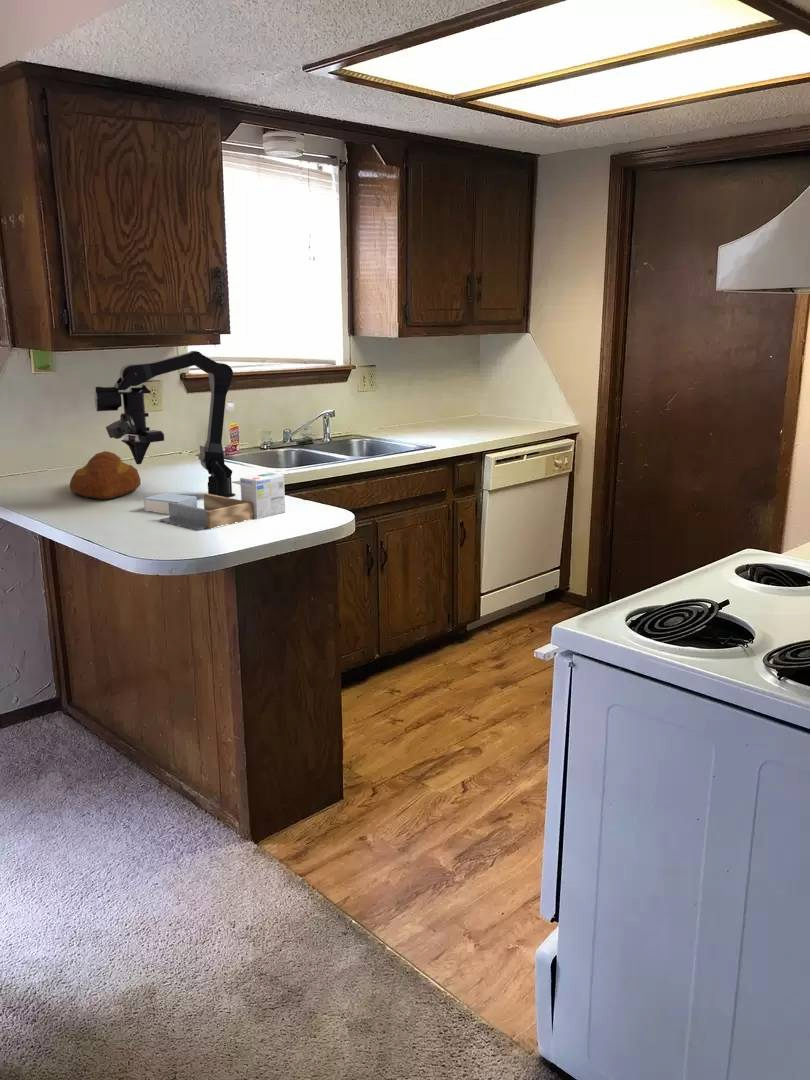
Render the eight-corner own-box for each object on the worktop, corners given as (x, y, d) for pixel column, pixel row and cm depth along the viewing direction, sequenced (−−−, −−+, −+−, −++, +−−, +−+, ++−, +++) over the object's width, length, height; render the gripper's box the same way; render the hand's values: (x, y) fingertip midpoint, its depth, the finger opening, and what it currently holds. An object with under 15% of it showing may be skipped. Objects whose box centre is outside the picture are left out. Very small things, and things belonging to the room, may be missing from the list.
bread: (144, 480, 284) (141, 443, 281) (138, 501, 254) (134, 459, 250) (77, 483, 280) (73, 445, 277) (62, 504, 249) (58, 462, 246)
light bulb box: (270, 509, 243) (268, 471, 240) (286, 512, 239) (285, 474, 236) (240, 515, 235) (238, 477, 232) (257, 519, 231) (255, 480, 228)
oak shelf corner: (207, 509, 243) (206, 493, 241) (253, 518, 231) (252, 502, 230) (165, 518, 232) (163, 501, 231) (210, 529, 220) (209, 511, 219)
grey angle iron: (173, 518, 231) (172, 502, 230) (211, 527, 222) (210, 510, 221) (160, 521, 228) (158, 504, 227) (198, 530, 219) (197, 513, 217)
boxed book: (164, 506, 248) (163, 492, 247) (197, 510, 243) (196, 496, 242) (144, 512, 240) (143, 498, 239) (178, 516, 236) (177, 502, 235)
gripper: (90, 409, 243) (95, 464, 247) (128, 414, 231) (133, 471, 235) (124, 406, 251) (129, 459, 255) (163, 411, 240) (167, 466, 244)
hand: (138, 464), depth 247 cm, fingers closed
